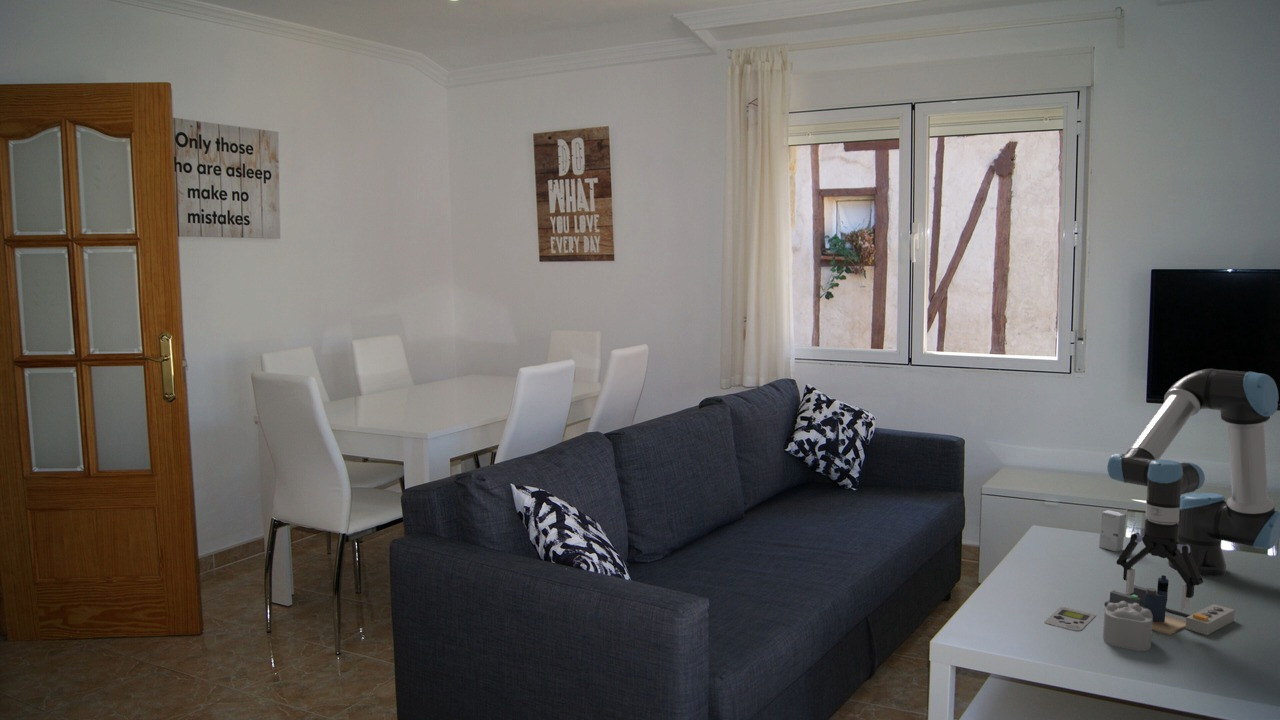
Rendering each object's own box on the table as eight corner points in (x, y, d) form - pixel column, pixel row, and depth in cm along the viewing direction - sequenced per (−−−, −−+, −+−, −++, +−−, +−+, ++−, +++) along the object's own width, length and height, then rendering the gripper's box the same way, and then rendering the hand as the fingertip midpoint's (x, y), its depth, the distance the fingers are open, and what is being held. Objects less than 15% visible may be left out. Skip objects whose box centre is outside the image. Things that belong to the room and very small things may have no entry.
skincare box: (1098, 547, 297) (1100, 511, 296) (1105, 545, 300) (1107, 509, 298) (1117, 552, 292) (1119, 515, 291) (1124, 549, 295) (1126, 513, 293)
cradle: (1124, 596, 252) (1125, 580, 252) (1205, 619, 235) (1206, 602, 235) (1104, 605, 246) (1105, 588, 245) (1186, 629, 229) (1187, 612, 228)
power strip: (1212, 614, 239) (1213, 601, 239) (1233, 620, 235) (1234, 606, 235) (1185, 628, 230) (1186, 614, 229) (1207, 635, 226) (1208, 620, 225)
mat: (1142, 610, 242) (1142, 608, 242) (1190, 624, 232) (1190, 622, 232) (1120, 620, 235) (1120, 618, 235) (1168, 635, 225) (1169, 633, 225)
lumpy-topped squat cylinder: (1101, 644, 220) (1103, 609, 219) (1104, 626, 231) (1106, 593, 230) (1150, 653, 215) (1153, 618, 214) (1151, 634, 226) (1153, 601, 225)
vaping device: (1167, 622, 232) (1171, 578, 230) (1145, 621, 233) (1149, 576, 231) (1162, 618, 235) (1166, 574, 233) (1141, 617, 235) (1145, 573, 234)
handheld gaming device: (1043, 621, 233) (1061, 605, 244) (1043, 624, 233) (1061, 608, 244) (1080, 630, 227) (1096, 613, 238) (1079, 633, 227) (1096, 616, 238)
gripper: (1105, 512, 239) (1101, 589, 241) (1208, 534, 219) (1202, 619, 221) (1119, 508, 243) (1114, 584, 245) (1222, 529, 223) (1215, 612, 225)
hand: (1156, 601), depth 233 cm, fingers open, 13 cm apart
